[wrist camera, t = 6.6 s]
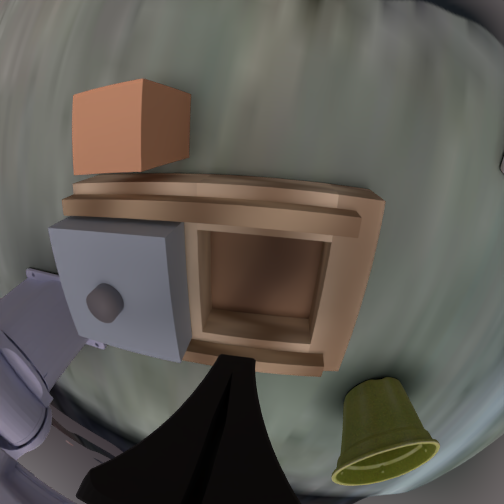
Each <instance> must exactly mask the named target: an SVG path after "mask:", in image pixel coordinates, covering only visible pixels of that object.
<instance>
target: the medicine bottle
mask: <svg viewBox="0 0 504 504" xmlns="http://www.w3.org/2000/svg"><path fill="white" fill-rule="evenodd" d="M501 171H502V172H503V173H504V157H503V160H502V164H501Z"/></svg>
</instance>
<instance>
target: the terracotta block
mask: <svg viewBox="0 0 504 504" xmlns="http://www.w3.org/2000/svg"><path fill="white" fill-rule="evenodd" d="M190 106H191V94H189V93H186V92H183V91H180V90H177V89H174V88H171V87H168V86H165V85H162V84H159V83H156V82H153V81H149V80H146V79H138V80H132V81H127V82H122V83H118V84H113V85H109V86H105V87H101V88H97V89H93V90H89V91H86V92H82V93H79V94H75V95H73V113H72V145H73V167H74V175H83V174H98V173H118V172H142V171H145V170H148V169H152V168H155V167H158V166H161V165H165V164H168V163H171V162H175V161H178V160H182V159H185V158H189V136H190Z"/></svg>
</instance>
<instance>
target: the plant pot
mask: <svg viewBox="0 0 504 504" xmlns="http://www.w3.org/2000/svg"><path fill="white" fill-rule="evenodd" d="M439 448H440V444H439V442H438V441H437V440H435V439H432V437H431V435H430V434H429V432H428V431H427V430H425V429H424V427H423V425H422V423H421V421H420V419H419V417H418V415H417V413H416V411H415V409H414V407H413V405H412V404H411V402H410V400H409V398H408V396H407V394H406V392H405V390H404V388H403V386H402V385H401V383H400V381H398V380H397V379H395V378H391V377H385V378H383V379H380V380H372V379H371V380H368V381H365V382H363V383H361V384H359V385H357V386H356V387H354V388H353V389H352V390H351V391H350V392H349V393H348V394H347V395H346V397H345V401H344V408H343V433H342V445H341V455H340V457H339V459H338V462H337V469H335V470H334V472H333V473H332V481H333V482H335V483H337V484H340V485H350V486H355V485H367V484H373V483H378V482H382V481H386V480H389V479H392V478H395V477H398V476H401V475H403V474H406V473H408V472H410V471H412V470H414V469H416V468H418V467H419V466H421V465H423V464H424V463H426V462H427V461H429V460H430V459H431V458H432V457H433V456H434V455H435V454H436V453H437V452H438V450H439Z"/></svg>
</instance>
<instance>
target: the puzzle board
mask: <svg viewBox="0 0 504 504" xmlns="http://www.w3.org/2000/svg"><path fill="white" fill-rule="evenodd" d="M73 191H74V195H72V196H69V197H67V198H64V199H62V205H63V213H64V215H66V216H90V217H110V218H128V219H145V220H161V221H175V222H184V236H185V256H186V272H187V286H188V298H189V310H190V320H191V330H192V339H191V341H190V343H189V345H188V348H187V350H186V352H185V354H184V357H183V359H182V360H185V361H190V362H195V363H201V364H206V365H212V366H213V365H214V363H215V361H216V360H217V358H218V356H219V355H221V354H226V355H233V356H241V357H249V358H254V359H255V360H256V365H255V372H264V373H274V374H285V375H298V376H316V377H321V375H322V372H323V371H338V370H339V368H340V365H341V362H342V360H343V357H344V354H345V352H346V349H347V346H348V343H349V340H350V338H351V335H352V332H353V329H354V326H355V323H356V320H357V316H358V313H359V310H360V307H361V303H362V300H363V297H364V293H365V290H366V286H367V282H368V279H369V275H370V271H371V267H372V263H373V259H374V255H375V251H376V246H377V242H378V237H379V233H380V228H381V223H382V218H383V213H384V207H385V202H386V201H384V200H383V199H382V198H380V197H379V196H378V195H376V194H375V193H374V192H372V191H371V190H369V189H363V188H357V187H350V186H342V185H335V184H327V183H318V182H310V181H300V180H290V179H279V178H267V177H254V176H238V175H217V174H184V173H139V174H107V175H97V176H94V177H91V178H88V179H85V180H82V181H79V182H77V183H74V184H73Z"/></svg>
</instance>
